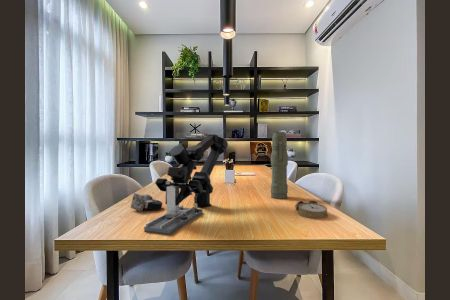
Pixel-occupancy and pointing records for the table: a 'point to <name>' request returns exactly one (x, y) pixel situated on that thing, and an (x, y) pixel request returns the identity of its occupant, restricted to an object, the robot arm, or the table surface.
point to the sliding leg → (173, 202)
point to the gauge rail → (172, 221)
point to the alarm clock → (311, 209)
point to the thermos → (279, 166)
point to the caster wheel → (145, 202)
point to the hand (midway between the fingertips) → (171, 204)
